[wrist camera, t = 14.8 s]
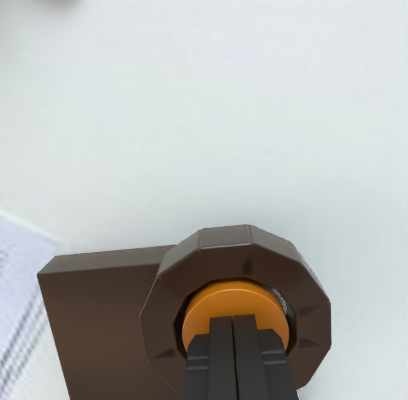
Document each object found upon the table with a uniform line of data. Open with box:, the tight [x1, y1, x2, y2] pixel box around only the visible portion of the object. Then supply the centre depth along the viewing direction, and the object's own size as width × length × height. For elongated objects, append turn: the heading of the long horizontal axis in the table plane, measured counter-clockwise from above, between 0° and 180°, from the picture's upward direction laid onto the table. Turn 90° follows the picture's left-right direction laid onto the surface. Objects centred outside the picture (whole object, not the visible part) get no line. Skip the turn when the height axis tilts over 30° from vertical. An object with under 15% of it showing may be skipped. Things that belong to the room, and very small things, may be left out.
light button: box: [182, 277, 289, 375], centre depth 13 cm, size 4×4×2 cm
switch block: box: [37, 224, 331, 400], centre depth 15 cm, size 13×11×4 cm
